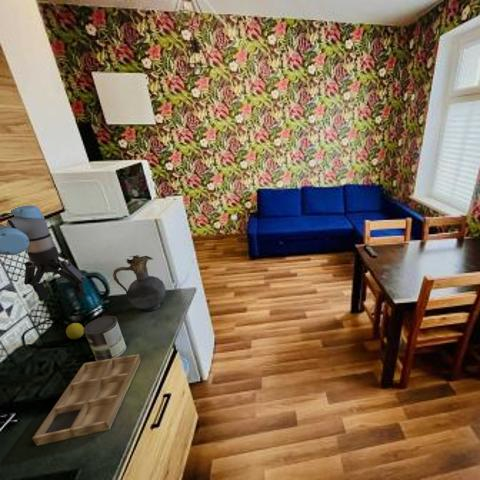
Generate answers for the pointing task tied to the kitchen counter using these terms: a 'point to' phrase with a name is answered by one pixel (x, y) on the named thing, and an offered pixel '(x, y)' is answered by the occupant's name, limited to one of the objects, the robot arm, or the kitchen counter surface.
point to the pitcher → (142, 285)
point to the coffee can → (105, 338)
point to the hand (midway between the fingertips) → (63, 298)
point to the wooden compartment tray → (89, 400)
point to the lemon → (74, 331)
